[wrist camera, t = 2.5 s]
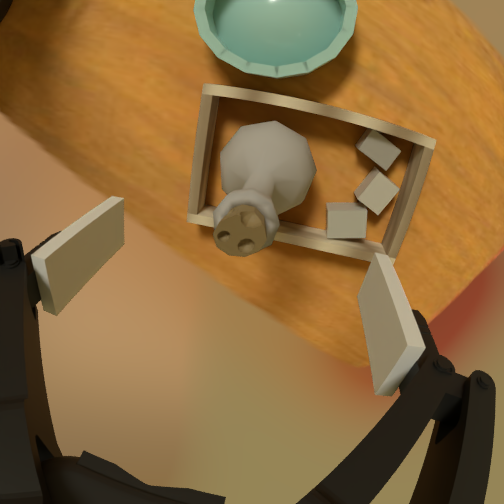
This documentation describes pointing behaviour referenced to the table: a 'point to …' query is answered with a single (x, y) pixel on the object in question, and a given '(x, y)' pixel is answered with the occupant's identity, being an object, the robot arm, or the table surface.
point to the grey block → (346, 220)
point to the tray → (298, 232)
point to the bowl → (276, 33)
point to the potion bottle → (260, 185)
